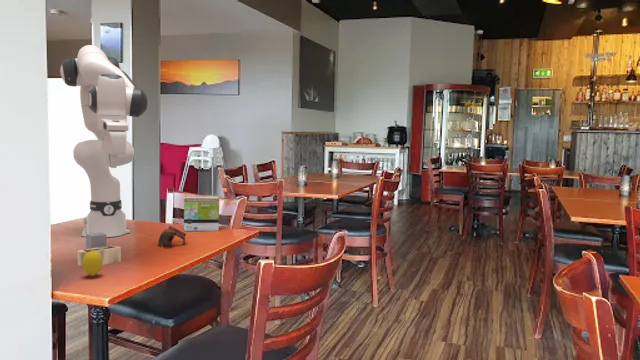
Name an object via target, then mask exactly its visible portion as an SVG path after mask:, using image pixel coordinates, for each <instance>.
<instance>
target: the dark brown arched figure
mask: <svg viewBox="0 0 640 360" xmlns="http://www.w3.org/2000/svg"><path fill="white" fill-rule="evenodd" d="M175 236H177V238H178V237H179V238H180V239H181V240H182V245H185V243H186V236H187V233H186V232H183V231H181V230H180V229H178V228H175V227H174V226H171V225H169V226H168V228H165V229H164V230H163V231H162V232H161V234H160V235H159V238H158V243H157V245H159V246H160V247H162V248H164V246H171V245H172V242H173V240H174V239H175Z"/></svg>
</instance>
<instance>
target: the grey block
mask: <svg viewBox="0 0 640 360" xmlns="http://www.w3.org/2000/svg"><path fill="white" fill-rule="evenodd" d="M107 238H108V237H107V236H106V234H104V233H102V232H98V233H89V234H86V237H85V245H86V246H85V248H86V249H91V248H97V247H104V246H108V245H107V244H108V243H107Z"/></svg>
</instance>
